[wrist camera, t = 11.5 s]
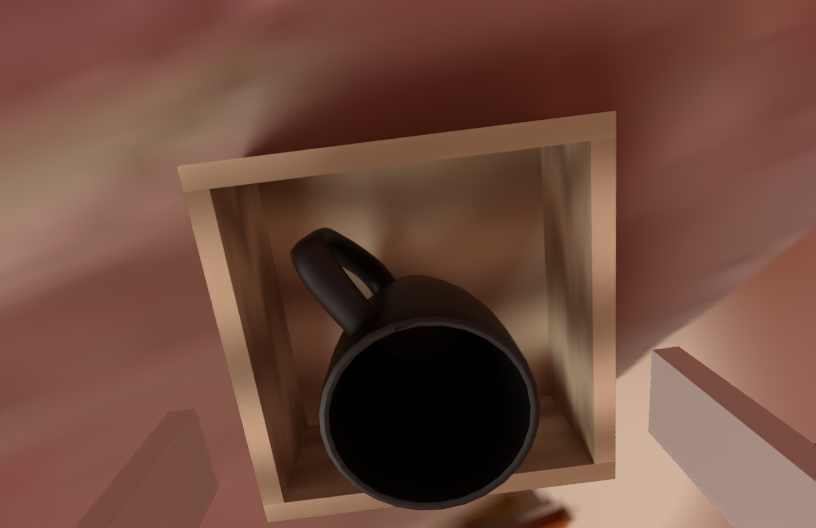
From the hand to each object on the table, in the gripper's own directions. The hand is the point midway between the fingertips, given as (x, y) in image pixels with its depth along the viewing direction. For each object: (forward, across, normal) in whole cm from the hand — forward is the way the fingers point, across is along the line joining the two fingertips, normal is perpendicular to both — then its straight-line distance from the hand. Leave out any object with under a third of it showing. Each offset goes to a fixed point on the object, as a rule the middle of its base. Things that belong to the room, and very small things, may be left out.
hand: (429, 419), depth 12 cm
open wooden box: (+13, 0, -1) cm, 13 cm away
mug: (+13, -1, -1) cm, 13 cm away
